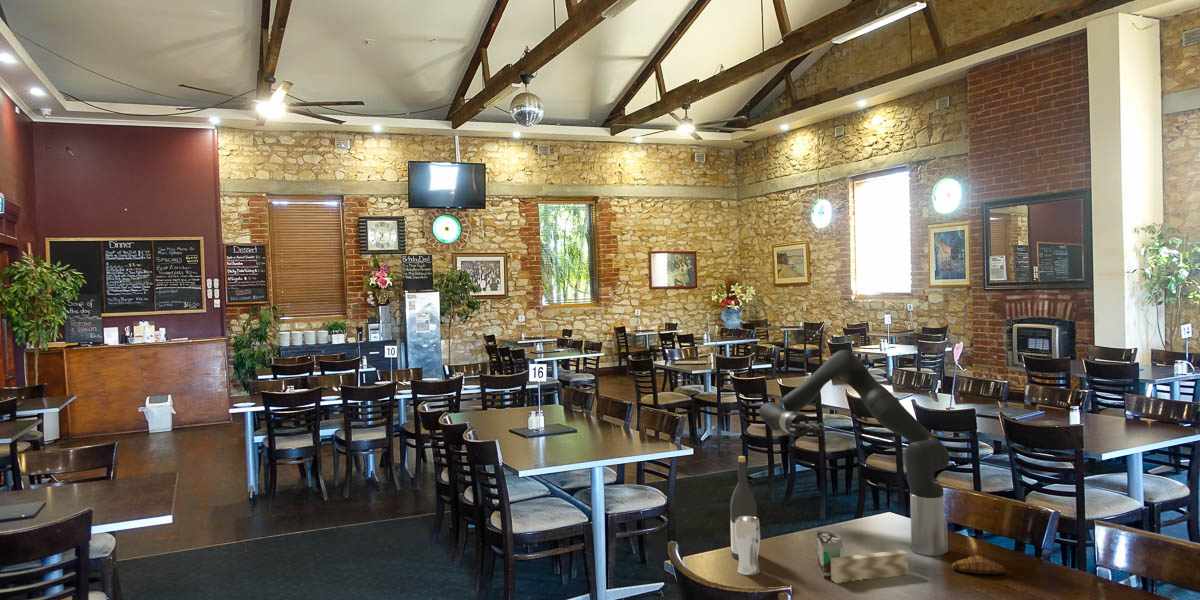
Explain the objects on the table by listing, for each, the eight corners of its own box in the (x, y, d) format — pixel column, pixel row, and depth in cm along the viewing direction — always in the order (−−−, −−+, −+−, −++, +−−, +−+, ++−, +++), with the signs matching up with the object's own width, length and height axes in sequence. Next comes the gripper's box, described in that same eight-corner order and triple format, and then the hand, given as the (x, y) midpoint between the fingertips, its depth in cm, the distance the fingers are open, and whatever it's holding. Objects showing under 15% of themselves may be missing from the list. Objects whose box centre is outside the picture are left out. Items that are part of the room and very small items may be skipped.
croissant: (954, 575, 202) (954, 557, 202) (949, 566, 208) (949, 549, 208) (1009, 579, 198) (1008, 561, 198) (1002, 570, 205) (1001, 552, 205)
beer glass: (762, 568, 211) (761, 516, 211) (759, 577, 204) (758, 523, 204) (738, 566, 213) (736, 514, 213) (734, 574, 207) (732, 521, 206)
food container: (847, 581, 200) (846, 544, 200) (824, 580, 201) (823, 544, 201) (838, 564, 212) (838, 530, 212) (817, 564, 213) (816, 529, 213)
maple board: (902, 571, 206) (901, 550, 206) (907, 574, 203) (907, 553, 203) (831, 579, 201) (830, 558, 201) (835, 583, 199) (835, 561, 199)
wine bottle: (728, 559, 219) (725, 458, 219) (734, 550, 227) (731, 453, 226) (755, 561, 216) (752, 460, 216) (760, 552, 223) (757, 454, 223)
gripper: (776, 413, 245) (801, 421, 228) (812, 411, 248) (839, 419, 231) (777, 436, 245) (802, 445, 228) (813, 433, 248) (840, 442, 231)
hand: (821, 432), depth 230 cm, fingers closed
